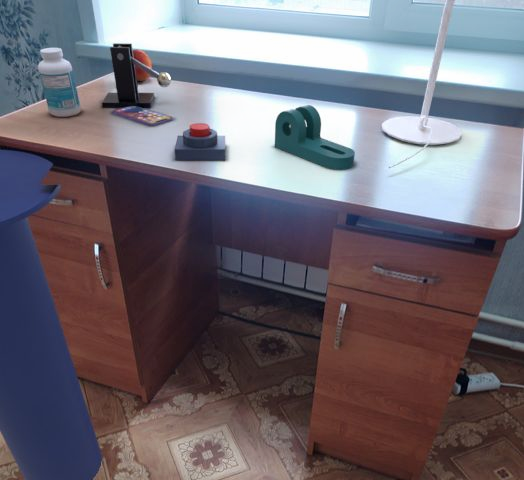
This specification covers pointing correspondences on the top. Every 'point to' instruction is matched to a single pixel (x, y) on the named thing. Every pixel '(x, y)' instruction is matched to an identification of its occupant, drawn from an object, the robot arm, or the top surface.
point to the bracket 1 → (125, 81)
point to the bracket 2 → (309, 139)
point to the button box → (200, 147)
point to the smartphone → (142, 115)
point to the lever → (153, 73)
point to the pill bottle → (58, 83)
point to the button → (199, 130)
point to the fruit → (145, 60)
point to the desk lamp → (426, 106)
